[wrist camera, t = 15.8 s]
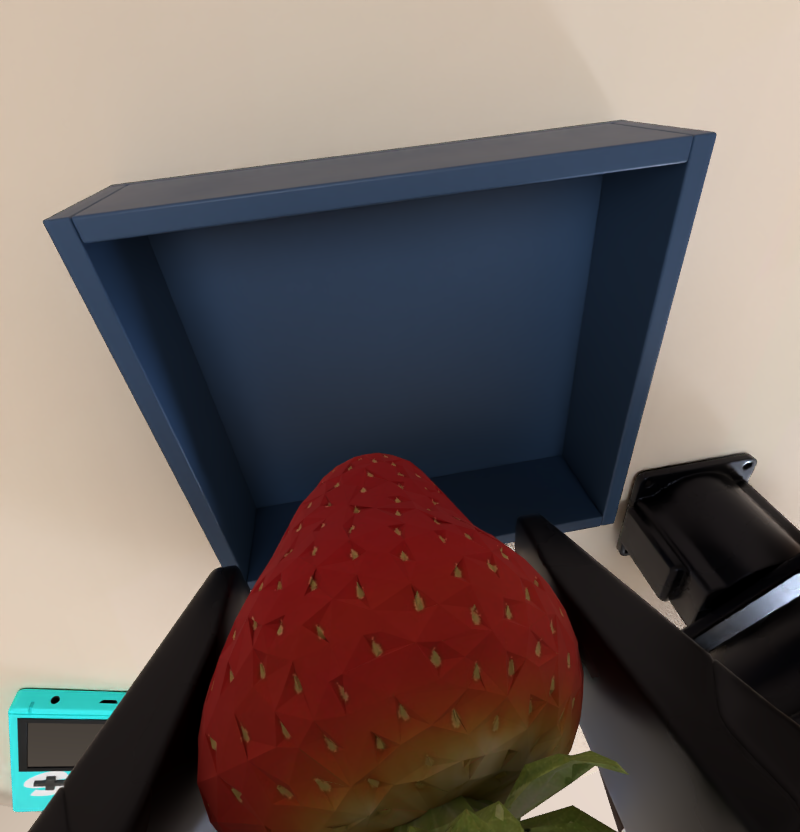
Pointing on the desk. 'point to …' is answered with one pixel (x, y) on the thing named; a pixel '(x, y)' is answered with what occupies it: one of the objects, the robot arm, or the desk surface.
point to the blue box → (397, 319)
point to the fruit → (393, 675)
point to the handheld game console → (51, 739)
